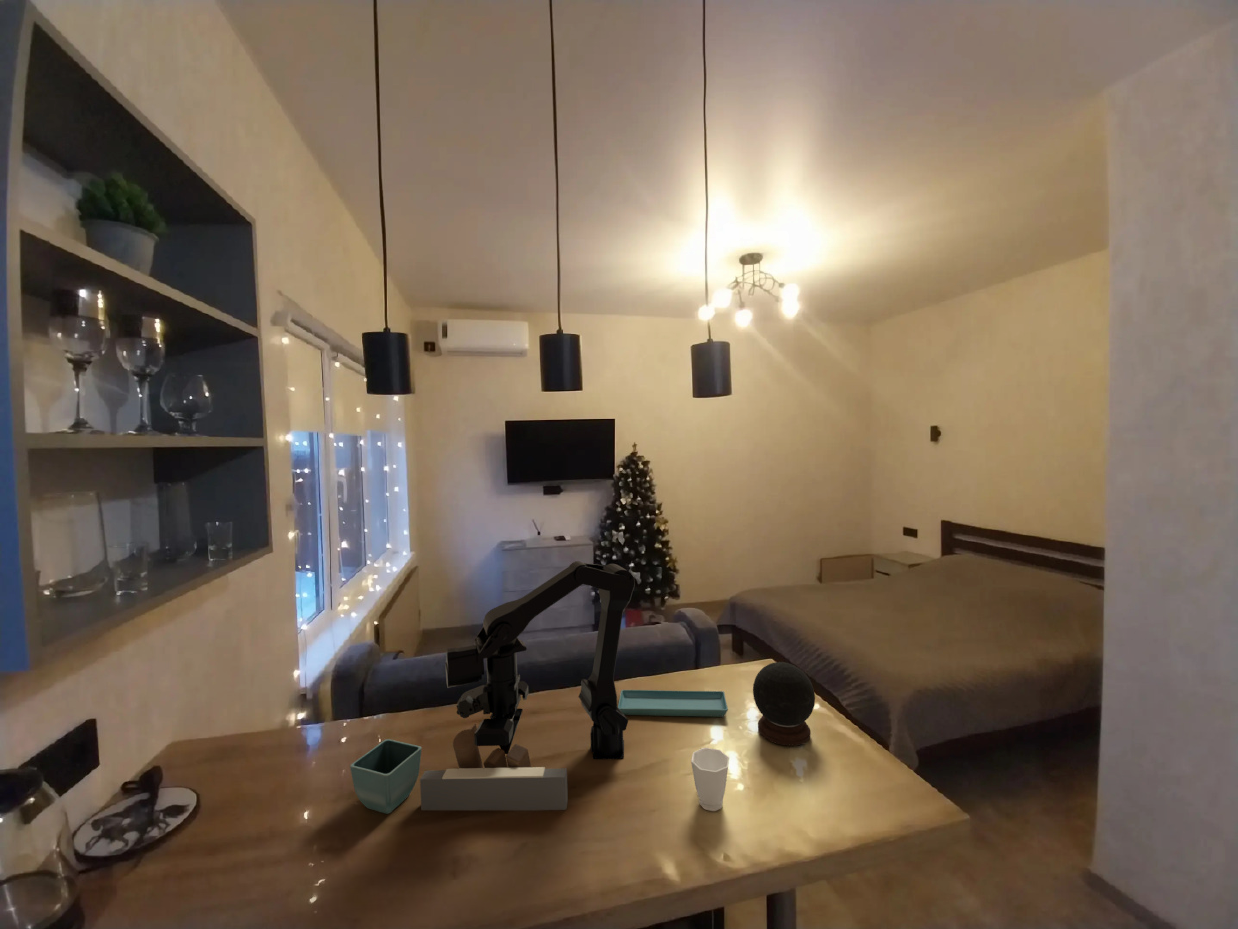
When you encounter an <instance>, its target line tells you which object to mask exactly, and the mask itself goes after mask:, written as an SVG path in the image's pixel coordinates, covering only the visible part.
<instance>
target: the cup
mask: <svg viewBox="0 0 1238 929" xmlns="http://www.w3.org/2000/svg"><path fill="white" fill-rule="evenodd" d="M729 761H730V757H729V756H728V755H727V754H726V753H724V752H723V751H722V750H721V749H716V748H709V747H702V748H701V747H700V749H697V750H695V751H693V752H692V756H691V761H690V763H691V770H692V773H693V779H694V780H693V781H694V786H695V791H696V793H697V797H698V798H699V799H698V804H699V805H700V806H701V807H702V809H704V810H706V811H710V812H716V811H719V810H720V809H722V808H723V804H724V796H725V793H726V792H725V791H726V786H727V777H728V770H729V763H730V762H729Z"/></svg>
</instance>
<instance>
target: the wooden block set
mask: <svg viewBox="0 0 1238 929" xmlns="http://www.w3.org/2000/svg"><path fill="white" fill-rule="evenodd" d="M477 728H478V727H477V724H476V723H475V724H473V725H472V726H471V727H470V728H469V729H463V730H461V731H460V732H458V733H457V734H456V735H455V736H454V738H453V741H452V747H453V751H454V754H455V758H456V762H457V765H458V768H523V767H532V764H531V759H530V753H529V750H528V748H527V747H524V746H521V745H520V744H517V743H515V744H514V745H513V746H511V748H510V750H509V753H508V754H505V752H504V750H502V749H501V748H500V747H498V748H495V749H493V750H492V751H491V753H490V754H489V755H488V756H487V758H486V759H485V760H484V761H483V762H482V757H481V754H480V749H479V746H476V745H475V737H474V734H475V732H476V730H477Z"/></svg>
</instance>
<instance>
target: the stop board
mask: <svg viewBox="0 0 1238 929" xmlns="http://www.w3.org/2000/svg"><path fill="white" fill-rule="evenodd" d="M419 783H420V784H419V786H420V787H419V789H420V807H421V809H420V810H421V811H566V810H567V807H568V801H569V799H568V797H569V796H568V795H569V794H568V769H567V768H546V767H545V766H539V767H538V766H535V767H533V766H531V767H523V768H484V767H483V768H459V767H458V768H446V769H445V770H444V769H443V770H440V769H439V770H438V769H436V770H434V769H433V770H431V769H430V770H425V771H424V773H423V774H422V775H421V777H420V779H419Z"/></svg>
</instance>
